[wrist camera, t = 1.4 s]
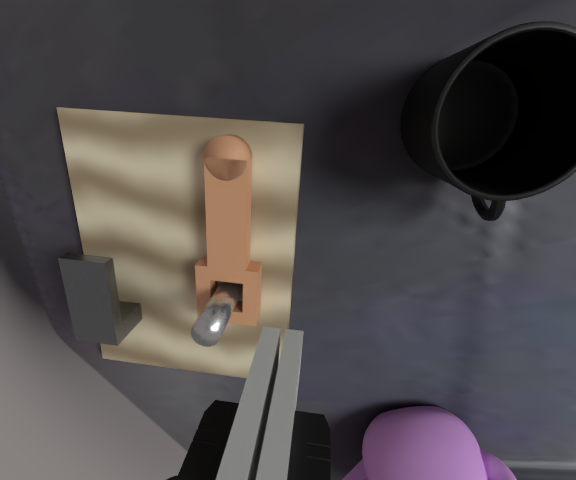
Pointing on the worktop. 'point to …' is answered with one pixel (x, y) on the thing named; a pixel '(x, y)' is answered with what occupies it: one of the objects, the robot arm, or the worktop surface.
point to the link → (229, 228)
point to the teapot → (424, 449)
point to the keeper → (96, 300)
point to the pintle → (216, 314)
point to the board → (179, 225)
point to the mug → (498, 115)
